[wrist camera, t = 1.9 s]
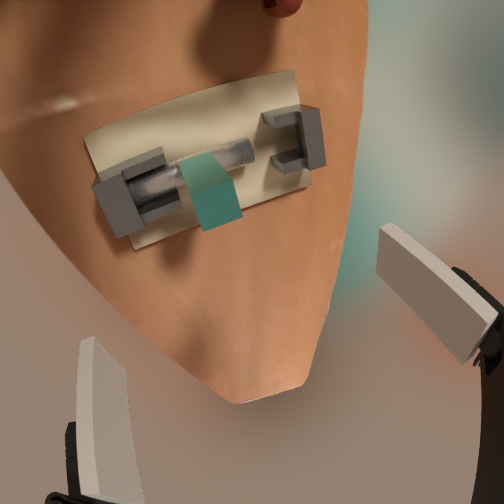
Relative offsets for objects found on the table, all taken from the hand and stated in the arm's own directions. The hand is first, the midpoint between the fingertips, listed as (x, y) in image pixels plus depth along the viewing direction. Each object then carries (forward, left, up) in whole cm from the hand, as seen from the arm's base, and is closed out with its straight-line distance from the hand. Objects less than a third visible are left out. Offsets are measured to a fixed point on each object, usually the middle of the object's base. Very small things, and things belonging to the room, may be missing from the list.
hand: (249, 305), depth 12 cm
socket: (0, +11, -21) cm, 23 cm away
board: (0, +2, -22) cm, 22 cm away
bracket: (0, -5, -21) cm, 21 cm away
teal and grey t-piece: (0, -1, -21) cm, 21 cm away
